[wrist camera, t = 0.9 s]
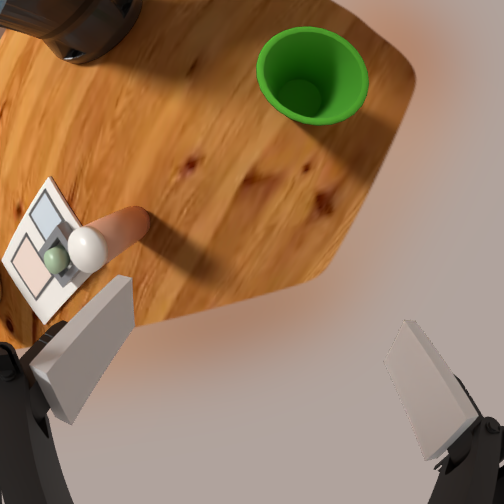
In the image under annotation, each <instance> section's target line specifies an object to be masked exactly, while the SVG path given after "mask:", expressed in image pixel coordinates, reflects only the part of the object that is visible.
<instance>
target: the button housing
mask: <svg viewBox="0 0 504 504" xmlns="http://www.w3.org/2000/svg"><path fill="white" fill-rule="evenodd" d="M72 232H73V230H72V228H71V227H70V225H69V224H68V222H67V221H66V222H63V223H61V224H59V225H57V226H56V227H55V229H54V230H53V231H52V233H51V234H50V236H49V237H48V238H47V240H46V241H45V243H44V244H43V246H42V247H41V249H40V250H39V252H38V253H39V254H40V256H41V257H42V259H43V260H44V254H45V252H46V251H48V250H49V249H51V248H53V247H55V246H57V245H58V243H59V242H60V241H61V243H62V244H63V246H64V247H65V249H66V250H67V252H68V239H69V236H70V235H71V233H72ZM68 253H69V252H68ZM80 272H81V270H79V269H78V268H77V267H76V266H75V265H74V264H73V265H72V266H71V267H70V269H69V270H68V268H65V269H64V270H62V271H61V272H59V273H58V274H53V275H54V276H55V278H56V279H57V281H58V282H59V284H60V285H61V286H62V288H64V287H65V286H66V285H68V284H69V283H70V282H71V281H72V280H73V279H74V278H75V277H76V276H77V275H78V274H79V273H80Z"/></svg>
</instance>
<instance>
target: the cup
mask: <svg viewBox="0 0 504 504" xmlns="http://www.w3.org/2000/svg"><path fill="white" fill-rule="evenodd" d="M256 74H257V80H258V83H259V86H260V89H261V91H262V93H263V94H264V96H265V97H266V99H267V101H268V102H269V103H270V104H271V105H272V106H273V107H274V108H275V109H276V110H277V111H279V112H280V113H282V114H284V115H285V116H287V117H288V118H290V119H293V120H295V121H298V122H301V123H303V124H310V125H317V126H320V125H332V124H335V123H338V122H341V121H344V120H346V119H347V118H349V117H351V116H352V115H354V114H355V113H356V112H357V111H358V109H359V108H360V107H361V106H362V105H363V103H364V100H365V98H366V96H367V93H368V87H369V79H368V71H367V69H366V66H365V63H364V61H363V59H362V57H361V56H360V54H359V53H358V51H357V50H356V49H355V48H354V47H353V46H352V45H351V44H350V43H349V42H348V41H347V40H345V39H344V38H342V37H341V36H339V35H338V34H336V33H333V32H331V31H328V30H326V29H322V28H317V27H311V26H310V27H295V28H291V29H288V30H284V31H282V32H281V33H279V34H277V35H275V36H273V37H272V38H271V39H270V40H269V41H268V42H267V43H266V44H265V45H264V47H263V49H262V50H261V52H260V54H259V56H258V60H257V64H256Z"/></svg>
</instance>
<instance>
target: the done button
mask: <svg viewBox="0 0 504 504" xmlns="http://www.w3.org/2000/svg"><path fill="white" fill-rule="evenodd" d="M44 263H45V266H46V268H47V269H48V271H49V272H51V273H52V274H58V273H59V272H61V271H62V270H64V269H65V268H67V267H68V266H69V264H70V256H69V253H68V252H67V250H66V249H65V247H63V246H62V245H57V246H55V247H53V248H51V249H49V250H48V251H46V252H45V254H44Z"/></svg>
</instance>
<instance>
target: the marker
mask: <svg viewBox="0 0 504 504" xmlns="http://www.w3.org/2000/svg"><path fill="white" fill-rule="evenodd" d="M149 228H150V217H149V215H148V213H147V211H146V210H145V209H143V208H142V207H139V206H133V207H127V208H124V209H122V210H119V211H117V212H114V213H112V214H110V215H107V216H105V217H103V218H100V219H98V220H96V221H93V222H91V223H89V224H87V225H85V226H82V227H80V228H78V229H76V230H74V231H73V232H72V233H71V235H70V236H69V239H68V252H69V256H70V258H71V260H72V262H73V263H74V265H75V266H76V267H77V268H78V269H79V270H81V271H83V272H85V273H94V272H96V271H97V270H99V269H100V268H101V267H102V266H104V265H105V264H107V263H108V262H109V261H111V260H112V259H113V258H115V257H116V256H117V255H119V254H120V253H122V252H123V251H124V250H126V249H127V248H128V247H130V246H131V245H133V244H134V243H136V242H137V241H138V240H140V239H141V238H142V237H143V236H144V235H145V234H146V233H147V232H148V230H149Z"/></svg>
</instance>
